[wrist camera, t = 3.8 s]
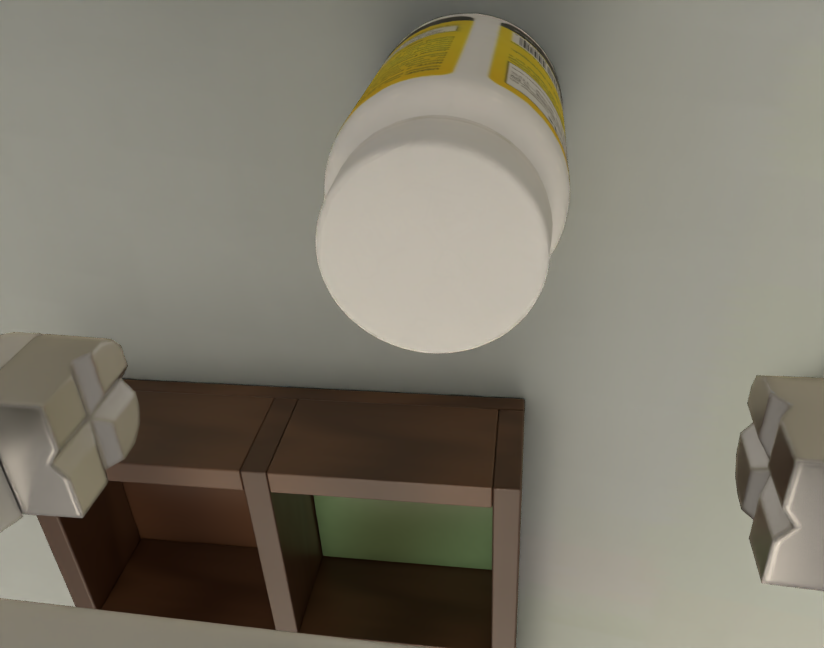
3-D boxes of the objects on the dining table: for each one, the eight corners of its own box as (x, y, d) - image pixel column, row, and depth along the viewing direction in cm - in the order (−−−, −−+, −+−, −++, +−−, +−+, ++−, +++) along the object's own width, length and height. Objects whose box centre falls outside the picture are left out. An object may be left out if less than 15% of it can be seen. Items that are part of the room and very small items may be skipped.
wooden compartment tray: (172, 651, 35) (131, 739, 31) (78, 376, 27) (9, 455, 23) (514, 687, 33) (510, 787, 29) (525, 398, 24) (521, 489, 21)
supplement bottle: (362, 168, 21) (272, 333, 14) (397, -12, 19) (306, 80, 12) (532, 212, 21) (525, 400, 14) (589, 38, 18) (617, 162, 11)
